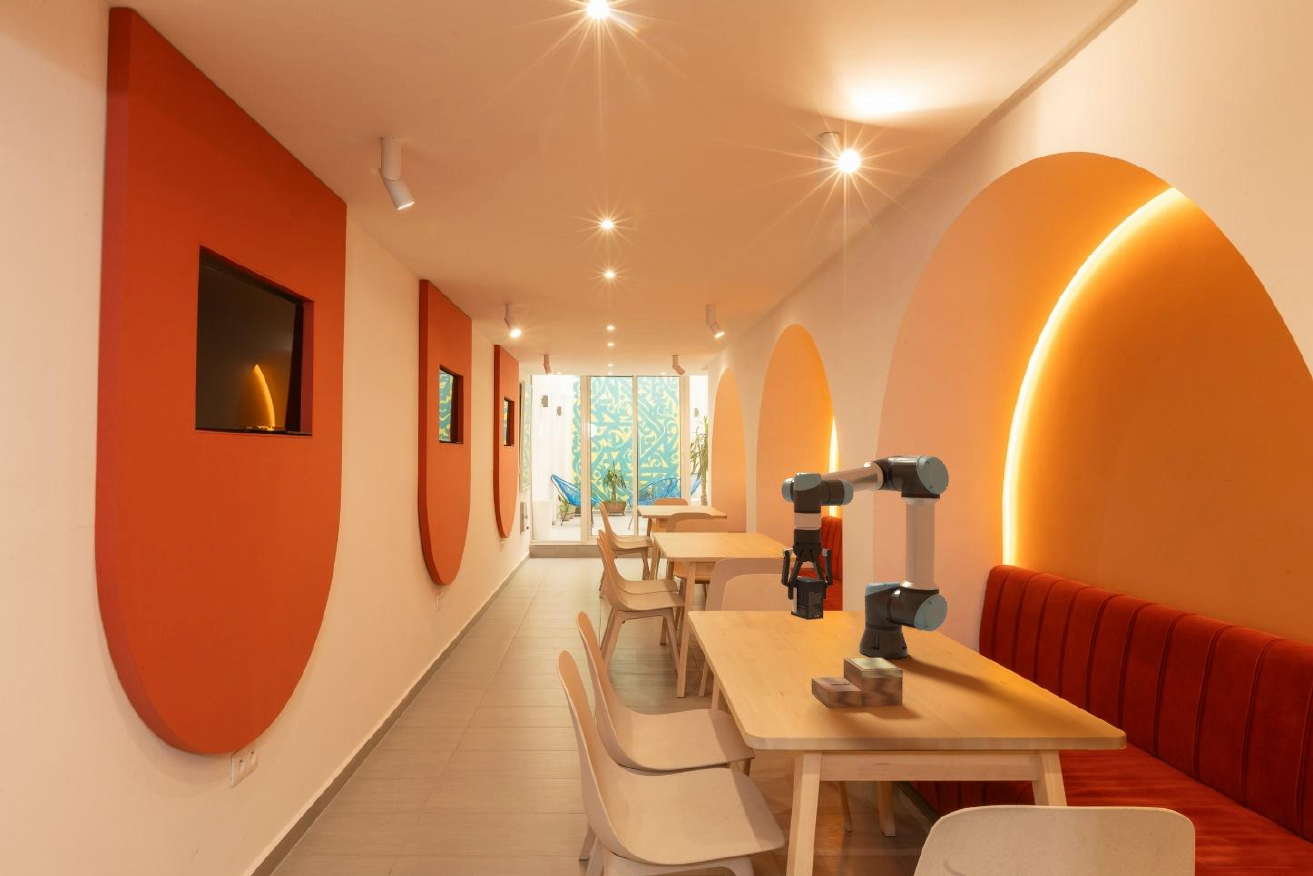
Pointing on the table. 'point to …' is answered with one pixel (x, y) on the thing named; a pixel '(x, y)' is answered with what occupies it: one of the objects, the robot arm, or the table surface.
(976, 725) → the table surface
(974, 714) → the table surface
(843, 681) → the stand
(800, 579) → the box
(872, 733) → the table surface
